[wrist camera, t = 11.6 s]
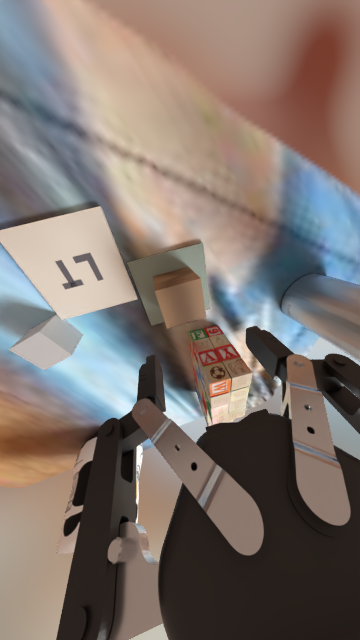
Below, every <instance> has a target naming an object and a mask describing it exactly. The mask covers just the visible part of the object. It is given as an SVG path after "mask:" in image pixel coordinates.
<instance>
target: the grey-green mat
mask: <svg viewBox="0 0 360 640" xmlns="http://www.w3.org/2000/svg"><path fill="white" fill-rule="evenodd" d="M127 264H128V267H129V269H130V272H131V274H132V277H133V279H134V282H135V285H136V287H137V290H138V292H139V295H140V297H141V300H142V303H143V305H144V308H145V310H146V313H147V315H148V318H149V320H150V323H151V326H152V325H156V324H159V323H163V322H165V321H164V318H163V315H162V312H161V309H160V306H159V303H158V299H157V296H156V293H155V289H154V283H153V276H156V275H160V274H163V273H167V272H171V271H174V270H178V269H182V268H185V267H190V268H191V269H192V270H193V271H194V272H195V273H196V274H197V275H198V276H199V277H200V278H201V283H202V290H203V297H204V305H205V310H208V309H210V301H209V292H208V283H207V274H206V265H205V256H204V247H203V243H198V244H194V245H190V246H187V247H183V248H179V249H175V250H171V251H167V252H164V253H160V254H156V255H152V256H148V257H145V258H141V259H137V260H133V261H129V262H127Z"/></svg>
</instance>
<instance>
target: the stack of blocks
mask: <svg viewBox="0 0 360 640" xmlns="http://www.w3.org/2000/svg"><path fill="white" fill-rule="evenodd" d="M189 337H190V349H191V357H192V363H193V368H194V374H195V386H196V392H197V395H198V398H199V402H200V405H201V408H202V411H203V414H204V416H205V419H206V422H207V425H208V426H211V425H214V424H217V423H229V422H233V421H234V419H236V418H239V417H243V416H244V415H245V409H246V408H245V407H246V401H247V397H248V392H249V386H250V383H251V378H252V372H251V370H250V369H249V368H248V366H247V365H246V363H245V362H244V361H243V359H242V358H241V356H240V355H239V353H238V352H237V351H236V349H235V348H234V347H233V345H232V344H231V343H230V342H229V340H228V339H227V338H226V336H225V335H224V333H223V332H222V330H221V329H220V328H219V326H218V325H216V326H212V327H208V328H204V329H200V330H195V331H191V332H189Z"/></svg>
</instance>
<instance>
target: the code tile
mask: <svg viewBox="0 0 360 640" xmlns="http://www.w3.org/2000/svg"><path fill="white" fill-rule="evenodd" d="M0 242H1V243H2V245H3V246H4V247H5V249H6V250H7V251H8V252H9V254H10V255H11V256H12V257H13V259H14V260H15V261H16V263H17V264H18V265H19V266H20V268H21V269H22V270H23V271H24V273H25V274H26V275H27V277H28V278H29V279H30V280H31V282H32V283H33V284H34V285H35V287H36V288H37V289H38V291H39V292H40V293H41V294H42V296H43V297H44V298H45V300H46V301H47V302H48V303H49V305H50V306H51V307H52V308H53V310H54V311H55V312H56V314H57V315H58V316H59V317H60V319H61V320H64V319H68V318H71V317H75V316H79V315H82V314H86V313H89V312H93V311H97V310H100V309H104V308H108V307H111V306H115V305H118V304H122V303H126V302H129V301H133V300H137V299H138V297H137V294H136V292H135V289H134V287H133V284H132V282H131V279H130V277H129V274H128V272H127V269H126V267H125V264H124V262H123V259H122V257H121V254H120V252H119V249H118V247H117V244H116V242H115V239H114V237H113V234H112V232H111V229H110V227H109V224H108V222H107V219H106V217H105V214H104V212H103V209H102V207H101V206H99V207H94V208H90V209H86V210H82V211H78V212H74V213H70V214H65V215H61V216H57V217H53V218H49V219H45V220H41V221H36V222H32V223H28V224H24V225H20V226H16V227H12V228H8V229H3V230H0Z"/></svg>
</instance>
